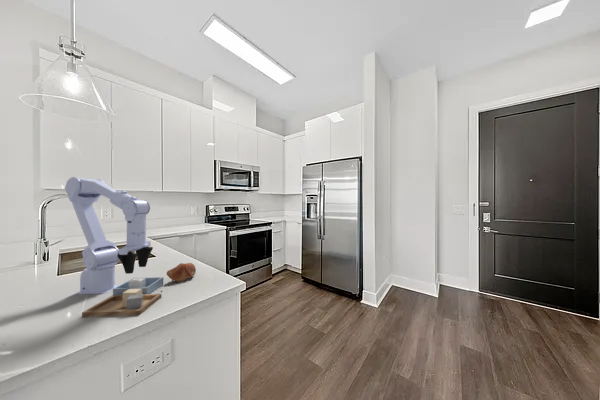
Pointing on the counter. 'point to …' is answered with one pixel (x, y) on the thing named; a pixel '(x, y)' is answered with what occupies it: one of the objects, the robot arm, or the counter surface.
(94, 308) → the tray
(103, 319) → the counter surface
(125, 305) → the cream cube
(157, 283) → the dish
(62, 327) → the counter surface
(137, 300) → the matte stone cube
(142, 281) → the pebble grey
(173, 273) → the bread loaf
